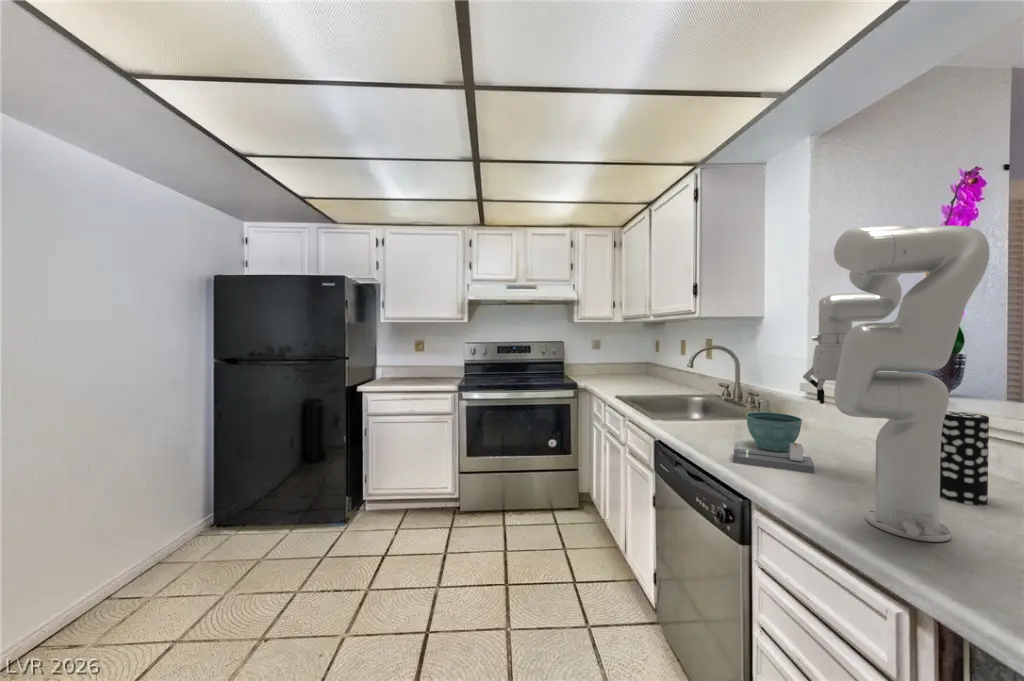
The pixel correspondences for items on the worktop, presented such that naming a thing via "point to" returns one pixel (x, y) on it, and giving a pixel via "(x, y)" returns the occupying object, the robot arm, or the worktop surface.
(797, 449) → the fader knob
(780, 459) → the fader console
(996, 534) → the worktop surface
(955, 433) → the white-spotted black cylinder
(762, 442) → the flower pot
